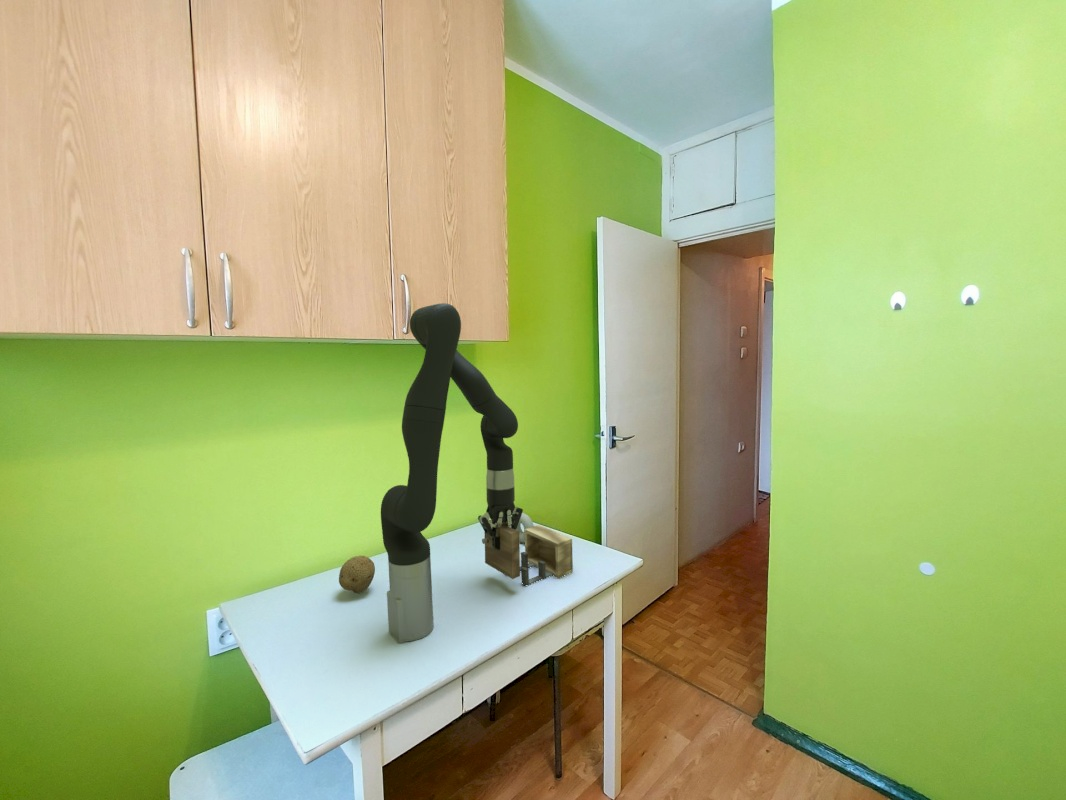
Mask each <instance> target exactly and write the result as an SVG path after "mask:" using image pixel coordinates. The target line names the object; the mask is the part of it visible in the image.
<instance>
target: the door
mask: <svg viewBox="0 0 1066 800" xmlns="http://www.w3.org/2000/svg"><path fill="white" fill-rule="evenodd" d="M489 524H490V526H491V519H489ZM483 531H484V530H483ZM483 533H484V538H482V539H481V543H482V545H484V563H485V564H486V565H488V566H489V567H491V568H493V569H494V570H496V571H498V572H500V573H501V574H503V575H505V576H507V577H508V578H509V579H511V580H514V579H518V578H519V577H521V572H520V566H521V550H520V549H521V548H520V546H521V545H520V542H519V531H517V530H515V529H512V528H510V527H508V526H506V525H503V524H502V525H501V528H500V535H499V537H500V550H496V549H494V547H493V546H492V536H490V535H488V534H486V533H485V531H484V532H483Z"/></svg>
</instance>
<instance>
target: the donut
mask: <svg viewBox="0 0 1066 800" xmlns="http://www.w3.org/2000/svg"><path fill="white" fill-rule="evenodd" d="M521 525H522V526H523V530H522V527H521ZM534 526H535V525H534V521H533V520H532V519H531V517H530V516H529V515H528V514H527V513H525V512H522V515H521V518H520V520H519V523H518V526H517V529H516V530H517V531H519V543H524V544H525V529H527V528H530V527H534Z"/></svg>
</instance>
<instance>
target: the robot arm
mask: <svg viewBox="0 0 1066 800" xmlns="http://www.w3.org/2000/svg"><path fill="white" fill-rule="evenodd" d="M409 328H410V333H411V334H412V336H413V338H414V339H415V340H416V341H417V342H418V343H419V345H421V347H422V348H423V349H424V350H425V352H424V357H423V361H422V364H421V366H420V369H419V371H418V373H417V374H416V377H415V378H414V380H413V382H412V384H411V386H410V388H409V389H408V391H407V394H406V398H405V401H404V406H403V412H402V413H403V414H402V419H401V420H402V421H401V434H402V438H403V442H404V446H405V449H406V455H407V459H408V477H407V485H404V484H398V485H395V486H392V487H391V488H390V489H388V490H387V492H385V494H384V495H383V497H382V500H381V504H380V523H381V533H382V541H383V542H382V543H383V545H384V548H385V552H386V553H387V560H388V561H387V565H388V579H389V581H388V582H389V590H387V592H386V602H387V604H386V605H387V622H388V632H389V633H390V634H391V636H392V637H393V638H394V639H395V641H397V643H399V644H401V643H403V642H412V641H417V640H420V639H423V638H425V637H427V636H428V635H430V634H431V633H432V631H433V630H434V621H435V620H434V605H433V586H432V585H433V584H432V563H431V562H432V561H431V560H432V559H431V546H430V542H429V540H428V539H427V538H426V537H425V536H424V535H423V533H422V532H423V531H425V530H426V529H427V528H428V527H429V526H430V524H431V523H432V521H433V519H434V515H435V512H436V508H437V507H436V506H437V495H438V494H437V492H438V491H437V490H438V489H437V488H438V471H439V469H438V468H439V458H440V450H441V442H442V435H443V430H444V425H445V416H446V409H447V402H448V394H449V388H450V381H451V380H452V381H453V382H454V384H455V385H456V387H457V388H458V389H459V391H460V392H461V393H462V394H463V396H464V398H465V399H466V401H467V403H468V404H469V405H470V407H471V408H472V409H473V411H475V412H476V413H478V414H480V415H482V417H481V419H480V424H479V425H480V432H481V433H480V434H481V439H482V442H483V446H484V448H485V449H484V450H485V451H486V475H485V481H486V482H485V485H486V488H485V489H486V503H487V507H486V509H485V510H486V512H485V513H484V514H483V515H478V516H477V520H478V521H479V523H480V526H481V527H482V528H483V531H485V532H484V534H485V533H486V534H488V535H490V536H492V546H493V547H494V549H496V550H500V537H499V535H500V528H501V525H502V524H503V525H506V526H508V527H510V528H512V529H515V530H516V529H517V526H518V523H519V520H520V518H521V515H522V513H524V512H523V511H524V510H523V508H521V507H520V506H516V505H515V503H514V502H515V497H516V496H515V473H514V451H513V449H512V447H510V446H508V444H506V443H505V441H504V439H509V438H513V436H515V435H516V433H517V432H518V430H519V422H518V419H517V416H516V414H515V412H514V411H513V410H512V408H510V406H508V405H507V403H505V401H503V400H502V399H501V398H500V397H499V396H498V395H497V394H496V392H495V391H494V389H493V387H492V385H491V384H490V382H489V380H487V378H486V377H485V376H484V374H483V373H482V372H481V371H480V369H478V368H477V367H476V366H475V365H474V364H472V363H471V362H470V361H469V360H468V359H466V358H465V356H463V355H462V354H461V353H460V352H459V350H457V349H458V344H459V340H460V336H461V330H462V320H461V316H460V313H459V312H458V310H457V308H455V306H454V305H451V304H449V303H446V302H445V303H436V304H432V305H431V304H430V305H427V306H422V307H420V308H418V309H416V310H414V311H413V313H412V314H411V316H410V319H409ZM489 520H491V526H490V524H489Z"/></svg>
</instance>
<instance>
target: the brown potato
mask: <svg viewBox="0 0 1066 800" xmlns="http://www.w3.org/2000/svg"><path fill="white" fill-rule="evenodd" d="M375 573H376V567H375V562H373V560H372V559H371V558H370V557H368V556H366V555H355V556H352V557H350V558H349V559H347V560H346V561H344V563H343V565H341V567H340V570H339V575H338V583H339V585H340V587H341V588H342V589H343V590H345V591H348V592H349V591H351V592H353V593H356V594H362V593H363V592H365V591H366V590H367V589H368V588H369V587H370V585H371V583H372V582H373V579H374V576H375Z"/></svg>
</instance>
